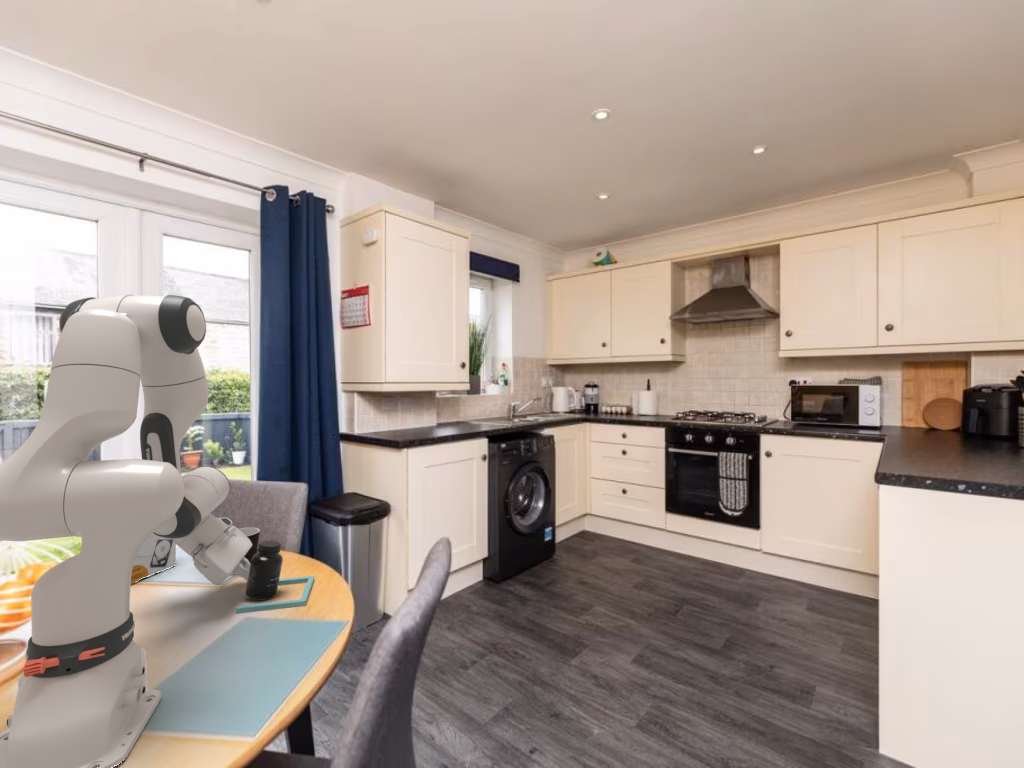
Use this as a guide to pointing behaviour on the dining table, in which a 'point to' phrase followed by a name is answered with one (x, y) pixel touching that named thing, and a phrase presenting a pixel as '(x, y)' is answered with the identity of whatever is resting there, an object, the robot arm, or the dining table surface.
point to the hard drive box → (154, 557)
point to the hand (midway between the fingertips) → (252, 576)
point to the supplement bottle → (264, 571)
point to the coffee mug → (254, 538)
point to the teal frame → (283, 603)
